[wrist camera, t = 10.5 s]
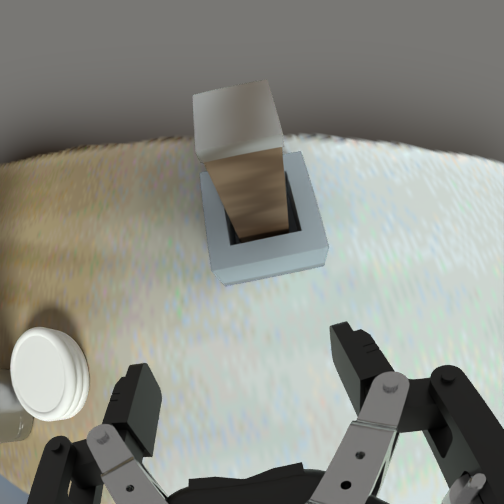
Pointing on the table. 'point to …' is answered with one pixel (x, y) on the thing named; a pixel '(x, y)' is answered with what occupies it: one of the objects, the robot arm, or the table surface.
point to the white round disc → (49, 374)
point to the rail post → (244, 156)
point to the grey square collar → (273, 248)
